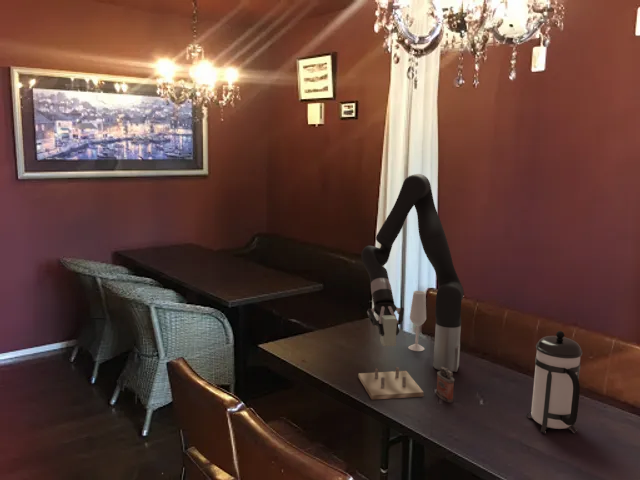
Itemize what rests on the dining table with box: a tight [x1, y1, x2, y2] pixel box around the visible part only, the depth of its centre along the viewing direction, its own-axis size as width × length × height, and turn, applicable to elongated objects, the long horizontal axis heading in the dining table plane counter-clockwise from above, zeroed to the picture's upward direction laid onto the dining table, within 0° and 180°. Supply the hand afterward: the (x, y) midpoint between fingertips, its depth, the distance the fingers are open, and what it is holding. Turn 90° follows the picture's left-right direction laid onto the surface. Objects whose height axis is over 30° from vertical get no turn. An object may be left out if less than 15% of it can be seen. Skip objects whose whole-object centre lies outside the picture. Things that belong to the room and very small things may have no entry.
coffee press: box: [526, 330, 583, 434], centre depth 168 cm, size 17×16×30 cm
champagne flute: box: [407, 290, 427, 352], centre depth 232 cm, size 7×7×24 cm
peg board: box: [357, 366, 424, 400], centre depth 196 cm, size 18×18×5 cm
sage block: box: [379, 315, 398, 347], centre depth 202 cm, size 4×4×10 cm
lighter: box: [435, 367, 456, 403], centre depth 189 cm, size 8×3×10 cm, turn 21°
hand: (389, 334), depth 200 cm, fingers closed on sage block, 4 cm apart
